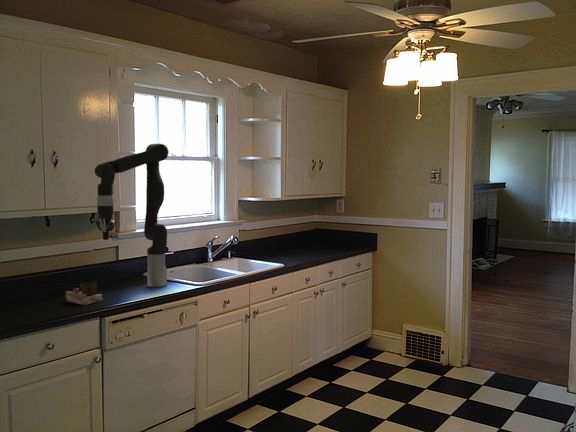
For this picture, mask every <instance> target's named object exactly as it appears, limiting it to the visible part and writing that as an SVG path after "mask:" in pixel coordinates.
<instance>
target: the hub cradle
mask: <svg viewBox="0 0 576 432" xmlns="http://www.w3.org/2000/svg"><path fill="white" fill-rule="evenodd" d="M103 296H104V294H102V293H99V294H98V293H97V294H95V295H93V296H89V297H87V295H86V294H82V291H80V288H78V287H76V288H75V287H74V288H73V289H72V291H69V290H66V291H65V302H68V303H74V304H78V305H82V306H86V305H91V304H93V303H97V302H98V303H99V302H102V301H103V299H104V297H103Z"/></svg>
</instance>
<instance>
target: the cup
mask: <svg viewBox="0 0 576 432" xmlns="http://www.w3.org/2000/svg"><path fill="white" fill-rule="evenodd" d="M80 290H81V291H80V292H82V294H86V295H87V297H89V296H93V295H97V290H98V282H95V281H94V282H90V281H87V282H84V284H83V282H81V283H80Z"/></svg>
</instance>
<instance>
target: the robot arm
mask: <svg viewBox="0 0 576 432" xmlns="http://www.w3.org/2000/svg"><path fill="white" fill-rule="evenodd" d="M169 154H170V153H169V149H168V147H167V146H166V145H165V144H163V143H150V144H148V145H147V147H146V149H145V151H142V152H138V153H135V154H134V153H133V154H128V155H125V156H122V157H119V158H115V159H113V160H110V161H106V162H102V163H99V164H97V166H96V167H95V168H94V173H95V174H94V175H96V177H97V178H100V183H98V184H97V198H96V201H97V202H96V206H97V207H96V209H97V210H96V212H97V215H98V219H96V220H95V222H94V223H95V224H96V226H97V228H98V230H99V231H101V232H102V240H104V241H108V240H110V239H109V238H110V232H112V231H113V229H114V228H115V225H116V224H117V221H114V220H113V219H114V218H113V215H114V196H113V195H114V192H113V186H114V182H115V176H116V174H121V173H124V172H127V171H129V170H133V169H135V168H138V167H140V166H144V165H146V188H145V189H146V190H145V191H146V193H145V195H146V196H145V198H146V199H145V200H146V203H145V204H146V206H145V207H146V208H145V220H144V228H143V234H144V237H145V239H147V240H148V241H152V243H151V244H152V245H151V246H150V247H148V248H147V249H146V252H147V257H146V258H147V259H146V260H147V271H146V272H147V287H149V288H161V287H165V286H166V285H167V282H168V281H167V277H168V276H167V273H168V269H167V267H166V249H167V244H168V231H167V230H168V229H167V227H166V226H165V225H164V224H161V223H158V214H159V211H160V209H161V207H162V205H163V203H164V200H165V184H164V182H163V178H162V176H161V173H160V162H162V161H164V160H166V159H167V158H168V156H169Z"/></svg>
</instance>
